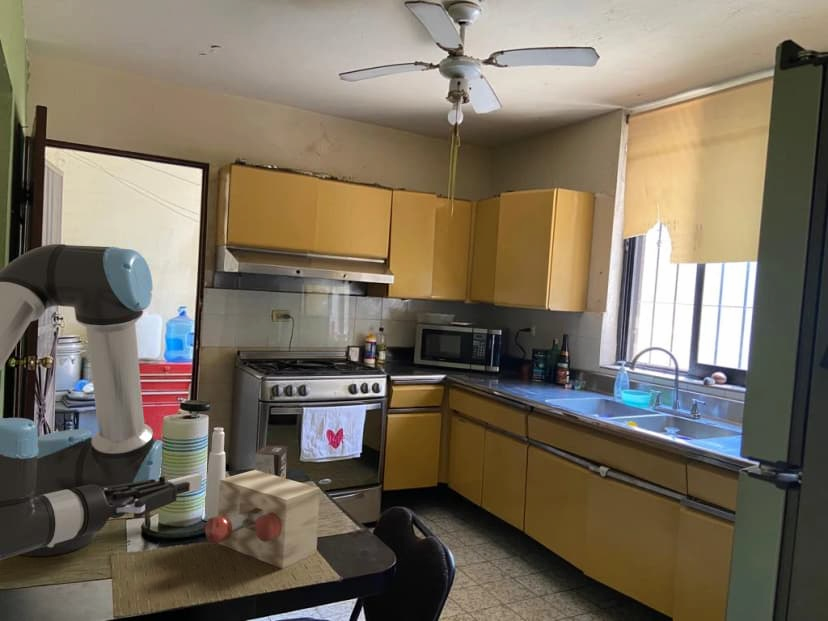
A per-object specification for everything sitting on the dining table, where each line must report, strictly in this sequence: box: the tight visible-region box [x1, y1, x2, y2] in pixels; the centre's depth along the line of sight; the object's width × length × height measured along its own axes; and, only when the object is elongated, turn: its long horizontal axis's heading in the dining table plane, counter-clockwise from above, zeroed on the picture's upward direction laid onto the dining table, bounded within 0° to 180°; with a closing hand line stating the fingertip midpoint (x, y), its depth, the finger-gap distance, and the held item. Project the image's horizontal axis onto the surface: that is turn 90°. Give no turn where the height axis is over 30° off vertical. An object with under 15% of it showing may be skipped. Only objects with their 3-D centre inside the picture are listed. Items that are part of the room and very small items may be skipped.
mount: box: [218, 469, 321, 570], centre depth 126 cm, size 20×12×14 cm, turn 58°
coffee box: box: [253, 445, 288, 479], centre depth 148 cm, size 9×6×16 cm
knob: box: [204, 508, 263, 545], centre depth 121 cm, size 12×5×5 cm, turn 148°
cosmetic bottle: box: [204, 427, 226, 518], centre depth 143 cm, size 6×6×22 cm
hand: (198, 481), depth 111 cm, fingers closed
